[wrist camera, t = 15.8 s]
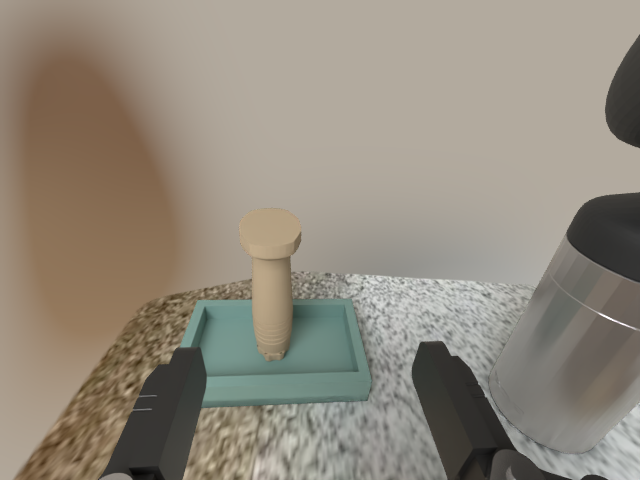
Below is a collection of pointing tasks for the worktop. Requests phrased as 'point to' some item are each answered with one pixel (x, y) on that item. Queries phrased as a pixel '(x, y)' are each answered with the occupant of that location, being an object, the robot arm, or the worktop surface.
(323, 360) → the tray
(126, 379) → the worktop surface
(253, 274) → the handle
